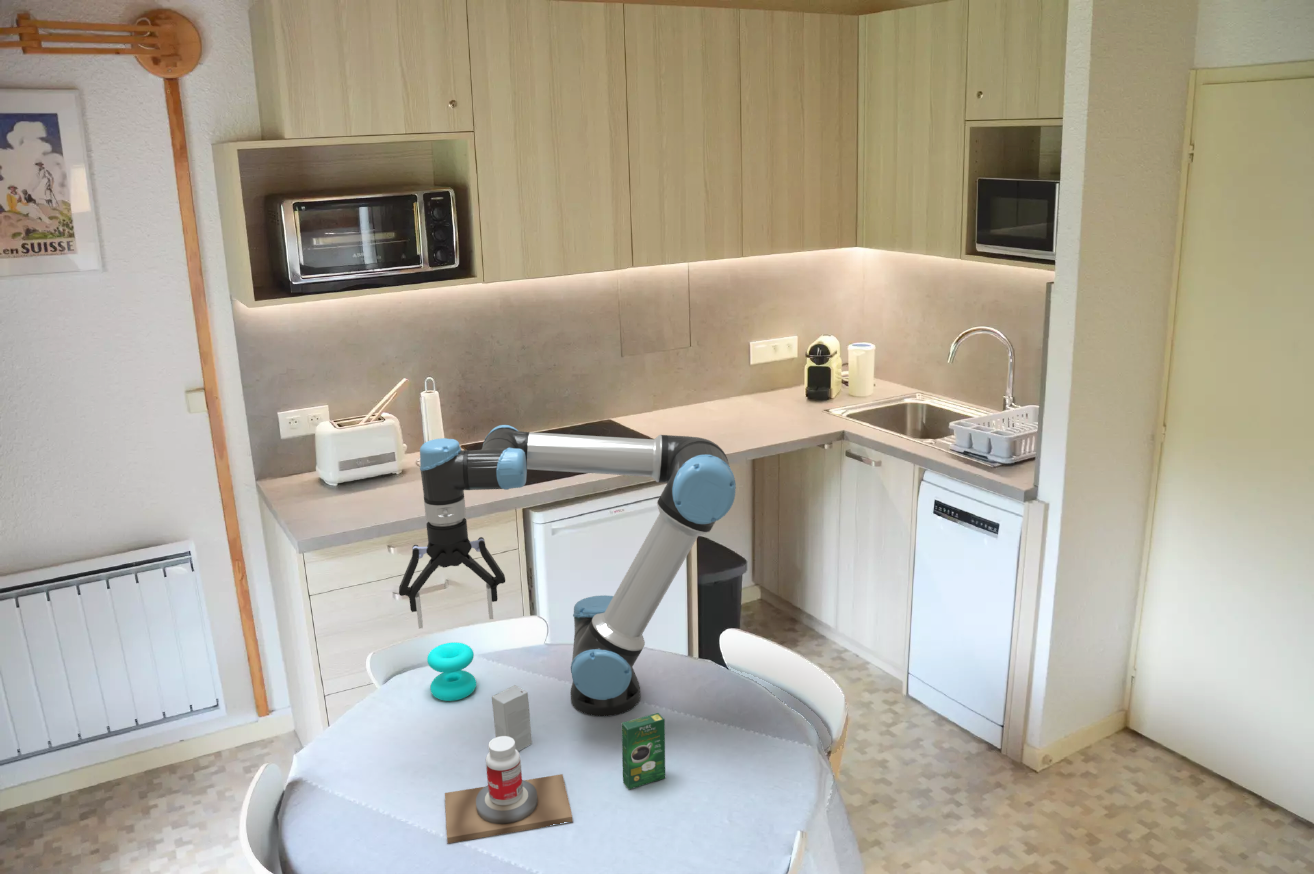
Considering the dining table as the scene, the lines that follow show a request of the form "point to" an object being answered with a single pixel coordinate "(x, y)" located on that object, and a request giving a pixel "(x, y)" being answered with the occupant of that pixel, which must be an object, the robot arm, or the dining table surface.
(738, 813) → the dining table surface
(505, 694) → the skincare box
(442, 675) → the donuts
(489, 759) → the pill bottle
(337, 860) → the dining table surface
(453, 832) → the seat board
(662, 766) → the coffee box
